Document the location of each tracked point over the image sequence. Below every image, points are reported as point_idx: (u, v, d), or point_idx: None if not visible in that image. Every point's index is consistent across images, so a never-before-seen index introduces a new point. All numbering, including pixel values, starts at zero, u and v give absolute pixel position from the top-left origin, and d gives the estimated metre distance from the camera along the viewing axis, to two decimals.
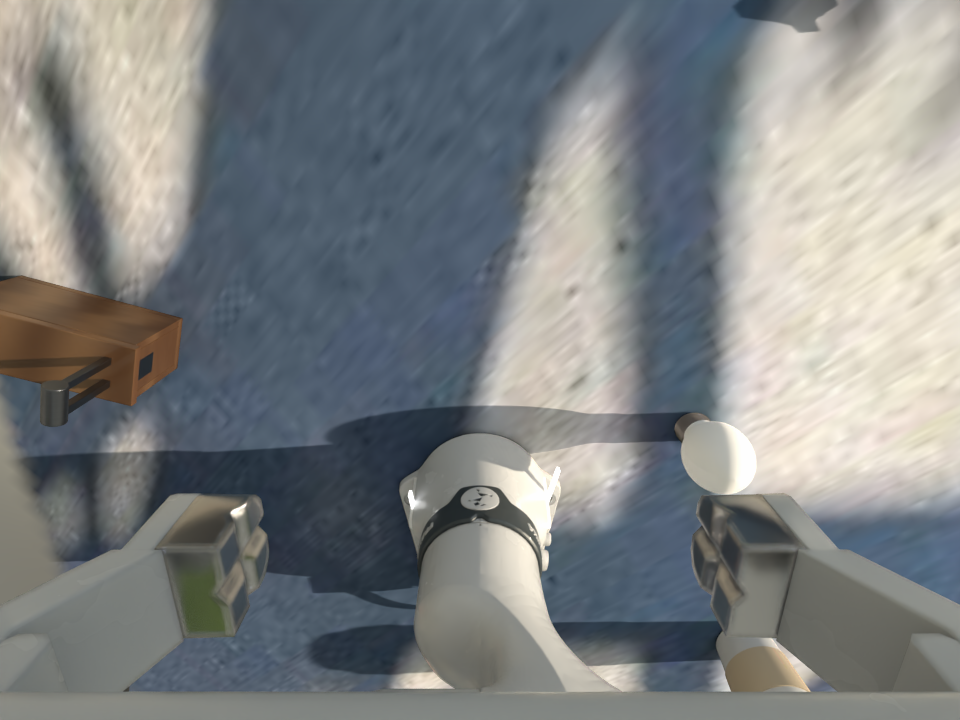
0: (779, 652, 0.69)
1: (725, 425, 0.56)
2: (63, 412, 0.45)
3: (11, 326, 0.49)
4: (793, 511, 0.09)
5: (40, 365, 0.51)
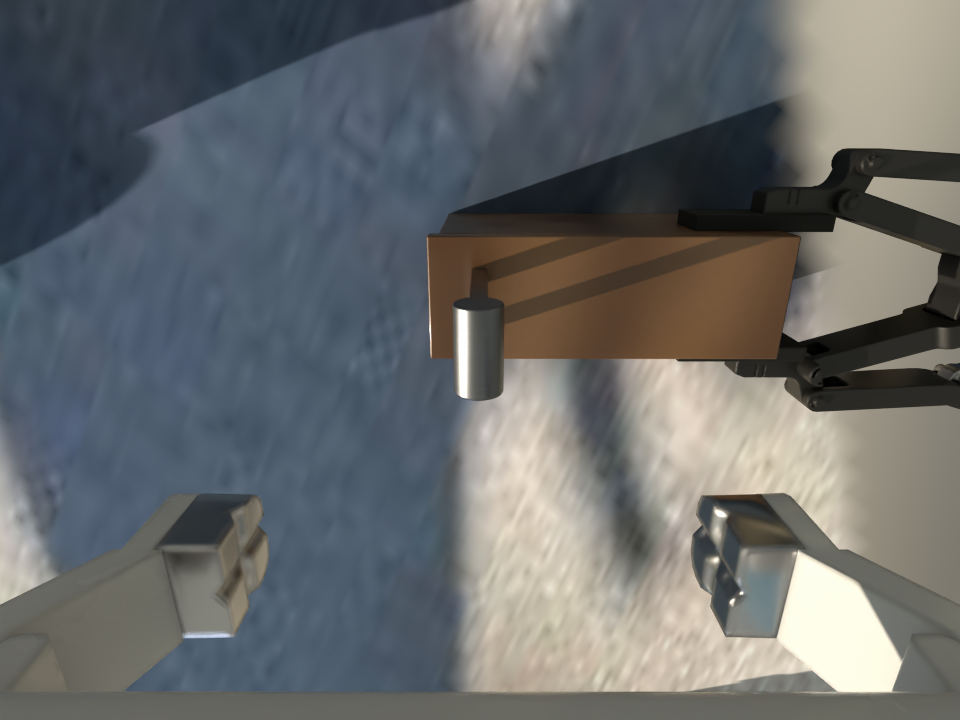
0: None
1: None
2: None
3: (653, 341, 0.27)
4: (794, 511, 0.09)
5: (606, 277, 0.26)
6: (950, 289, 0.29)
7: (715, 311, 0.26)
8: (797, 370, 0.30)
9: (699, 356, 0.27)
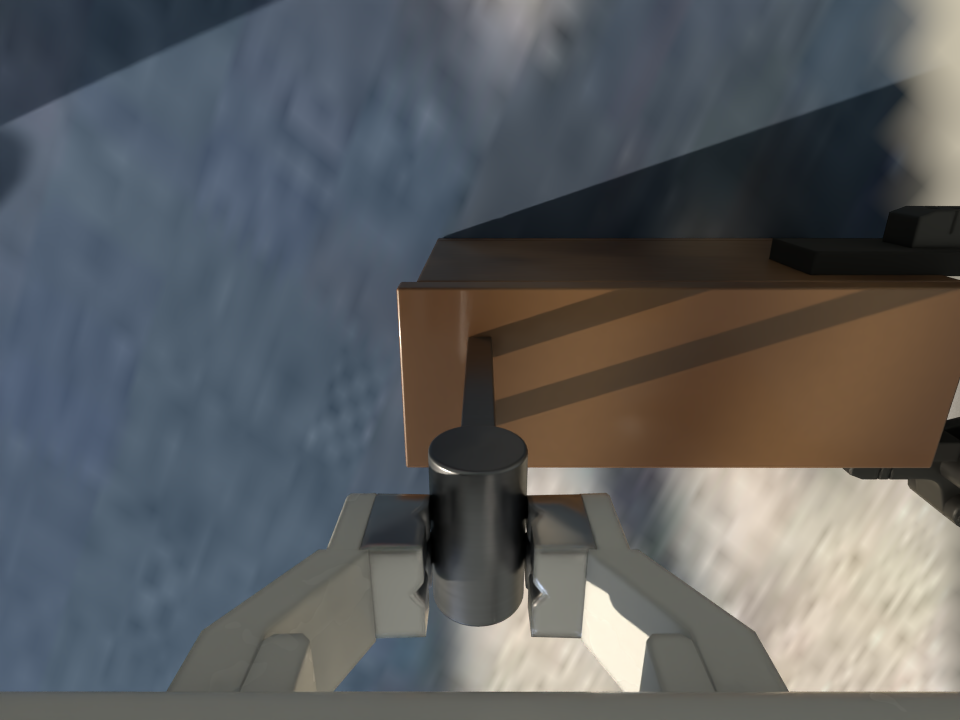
0: None
1: None
2: None
3: (745, 443, 0.18)
4: (603, 511, 0.09)
5: (677, 350, 0.16)
6: None
7: (843, 400, 0.17)
8: (942, 470, 0.20)
9: (814, 464, 0.18)
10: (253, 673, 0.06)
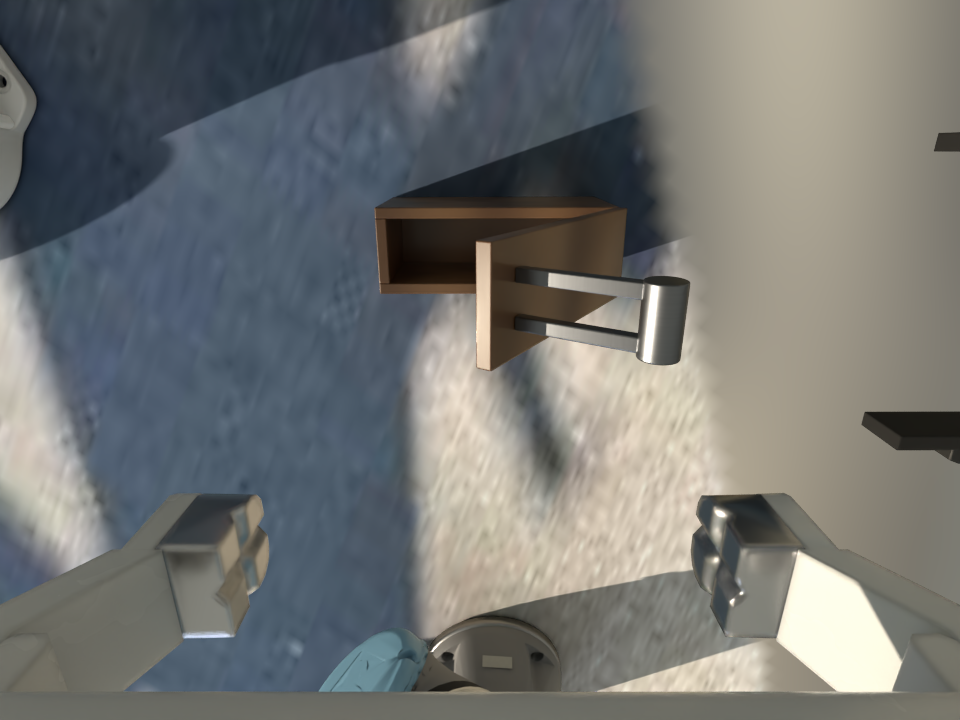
0: None
1: None
2: (662, 314, 0.22)
3: (585, 301, 0.34)
4: (793, 511, 0.09)
5: (571, 256, 0.31)
6: None
7: (604, 269, 0.35)
8: None
9: (599, 305, 0.36)
10: None
